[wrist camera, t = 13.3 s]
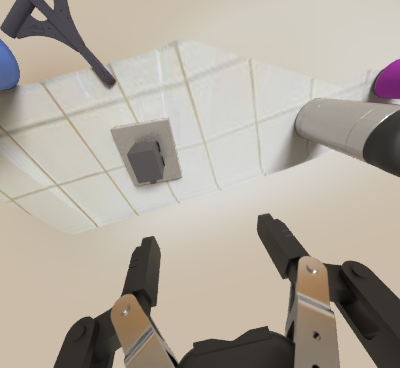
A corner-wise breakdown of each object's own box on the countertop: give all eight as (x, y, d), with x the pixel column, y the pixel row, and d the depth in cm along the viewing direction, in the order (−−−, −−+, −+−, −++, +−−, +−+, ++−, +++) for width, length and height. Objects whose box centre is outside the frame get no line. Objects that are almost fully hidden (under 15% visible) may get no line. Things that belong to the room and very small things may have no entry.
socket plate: (169, 117, 35) (168, 119, 33) (181, 172, 43) (182, 177, 40) (114, 126, 35) (110, 129, 32) (137, 180, 42) (135, 186, 40)
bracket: (92, 107, 33) (86, 109, 31) (6, 29, 26) (-11, 23, 23) (140, 54, 30) (137, 52, 27) (57, -54, 22) (43, -70, 20)
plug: (157, 137, 36) (153, 149, 29) (166, 167, 40) (164, 184, 34) (135, 141, 36) (126, 154, 29) (146, 171, 40) (140, 188, 33)
